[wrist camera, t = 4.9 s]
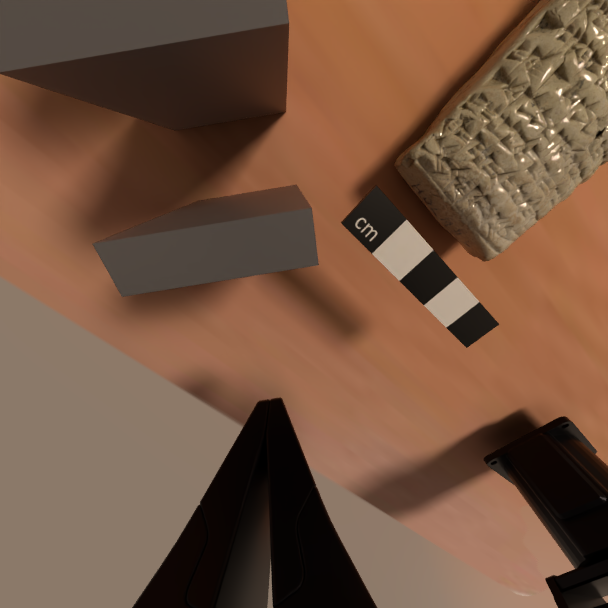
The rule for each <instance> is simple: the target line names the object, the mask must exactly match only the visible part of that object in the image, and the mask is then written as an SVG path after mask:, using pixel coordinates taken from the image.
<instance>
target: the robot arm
mask: <svg viewBox="0 0 608 608" xmlns="http://www.w3.org/2000/svg"><path fill="white" fill-rule="evenodd" d="M596 452H597V451H596V449H595V448H594V447H593V446H592V445H591V443H590V442H589V441H588V440H587V439H586V438H585V436H584V435H583V434H582V433H581V432H580V431H579V429H578V428H577V427H576V426H575V425H574V423H573V422H572V421H570V420H569V419H568V418H567V417H564V416H563V417H559V418H557V419H555V420H553V421H551V422H549V423H547V424H546V425H544V426H542V427H540V428H538V429H536V430H534V431H532V432H531V433H529V434H527V435H525V436H523V437H521V438H519V439H517V440H515V441H514V442H512V443H510V444H508V445H506V446H504V447H502V448H500V449H498V450H497V451H495V452H493V453H491V454H489V455H487V456H486V457H485V458H484V461H485V462H486V464H487V465H488V466H489V467H490V468H491V469H493V470H494V471H496V472H497V473H498V474H500V475H501V476H502V477H504V478H505V479H507V480H508V481H509V482H511V483H512V484H514V485H515V486H516V487H517V489H518V490H519V492H520V493H521V494H522V496H523V497H524V499H525V500H526V501H527V503H528V504H529V505H530V507H531V508H532V510H533V511H534V512H535V514H536V515H537V516H538V518H539V519H540V521H541V522H542V523H543V525H544V526H545V527H546V529H547V530H548V532H549V533H550V534H551V536H552V537H553V539H554V540H555V541H556V543H557V544H558V546H559V547H560V548H561V550H562V551H563V552H564V554H565V555H566V557H567V558H568V559H569V561H570V562H571V564H572V565H573V566H574V568H575V569H574V570H572V571H569V572H567V573H564V574H562V575H559V576H555V575H553V576H550V577H548V578H545V580H546V582H547V584H548V586H549V588H550V590H551V592H552V594H553V596H554V600H555V602H556V604H557V606H558V608H608V603H606V602H605V601H604V599H603V598H602V597H604V596H607V595H608V466H607V465H606V464H605V463H604V462H603V461H602V460H601V459H600V458H599V457H597V456H596V455H595V454H596ZM270 561H271V571H272V597H273V608H377V606H376V605H375V603H374V601H373V599H372V598H371V595H370V594H369V592H368V590H367V588H366V586H365V584H364V583H363V581H362V579H361V577H360V575H359V573H358V571H357V569H356V568H355V566H354V564H353V562H352V560H351V558H350V556H349V555H348V553H347V551H346V549H345V547H344V545H343V543H342V542H341V540H340V538H339V536H338V534H337V532H336V530H335V528H334V526H333V524H332V522H331V520H330V517H329V515H328V513H327V511H326V508H325V506H324V504H323V501H322V499H321V497H320V494H319V491H318V489H317V487H316V484H315V481H314V479H313V476H312V474H311V471H310V469H309V466H308V464H307V461H306V458H305V456H304V453H303V451H302V448H301V446H300V443H299V441H298V438H297V436H296V433H295V430H294V428H293V425H292V423H291V420H290V418H289V415H288V413H287V410H286V408H285V405H284V403H283V400H282V398H274V399H271V400H261V401H259V402H258V403H257V404H256V406H255V408H254V410H253V411H252V413H251V415H250V417H249V418H248V420H247V422H246V423H245V425H244V427H243V429H242V431H241V432H240V434H239V436H238V437H237V439H236V441H235V443H234V444H233V446H232V448H231V449H230V451H229V453H228V455H227V456H226V458H225V460H224V462H223V464H222V465H221V467H220V469H219V470H218V472H217V474H216V475H215V477H214V479H213V481H212V483H211V484H210V486H209V488H208V489H207V491H206V493H205V495H204V496H203V498H202V500H201V501H200V505H198V507H197V508H196V510H195V512H194V513H193V515H192V517H191V519H190V520H189V522H188V524H187V525H186V527H185V529H184V530H183V532H182V533H181V535H180V537H179V539H178V540H177V542H176V543H175V545H174V546H173V548H172V549H171V551H170V553H169V554H168V556H167V557H166V559H165V560H164V562H163V563H162V565H161V566H160V568H159V569H158V571H157V572H156V573H155V575H154V576H153V578H152V579H151V581H150V582H149V584H148V585H147V587H146V588H145V590H144V591H143V593H142V594H141V596H140V597H139V598H138V600H137V601H136V603H135V604H134V606H133V607H132V608H267V603H268V589H269V574H270Z"/></svg>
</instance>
